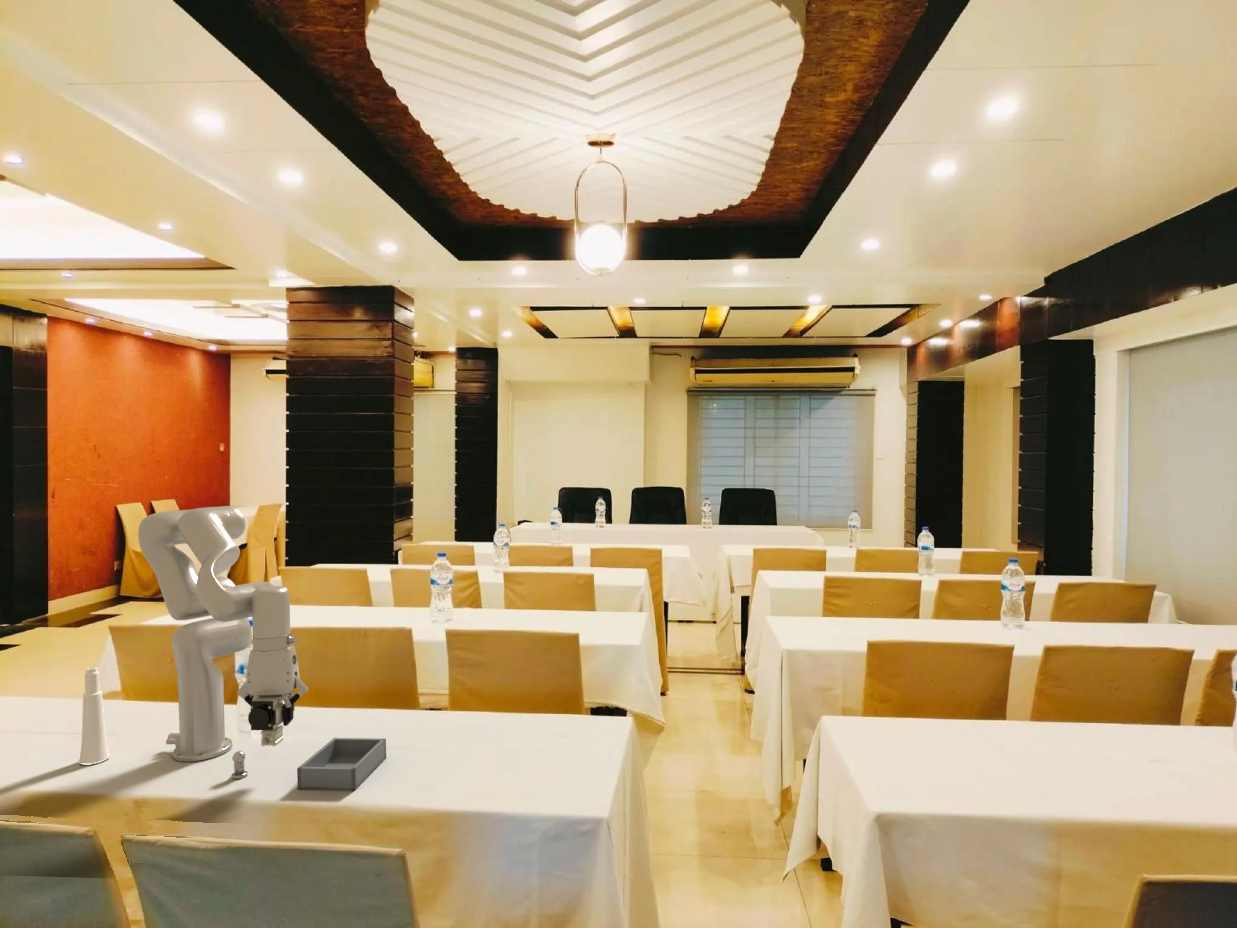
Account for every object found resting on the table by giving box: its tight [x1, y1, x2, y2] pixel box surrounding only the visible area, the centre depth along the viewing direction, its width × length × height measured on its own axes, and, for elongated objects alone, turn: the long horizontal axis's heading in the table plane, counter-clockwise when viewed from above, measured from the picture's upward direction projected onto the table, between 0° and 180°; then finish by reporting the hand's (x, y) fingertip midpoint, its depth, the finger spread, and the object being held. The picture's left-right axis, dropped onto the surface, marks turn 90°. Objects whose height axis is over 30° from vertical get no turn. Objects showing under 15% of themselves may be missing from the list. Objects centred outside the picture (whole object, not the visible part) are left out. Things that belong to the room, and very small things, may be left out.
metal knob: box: [230, 750, 249, 781], centre depth 163 cm, size 3×3×6 cm
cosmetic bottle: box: [78, 666, 111, 763], centre depth 174 cm, size 6×6×22 cm
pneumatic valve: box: [247, 695, 295, 747], centre depth 163 cm, size 6×12×12 cm, turn 178°
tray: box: [296, 737, 387, 792], centre depth 164 cm, size 13×17×5 cm
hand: (273, 723), depth 163 cm, fingers closed on pneumatic valve, 5 cm apart
